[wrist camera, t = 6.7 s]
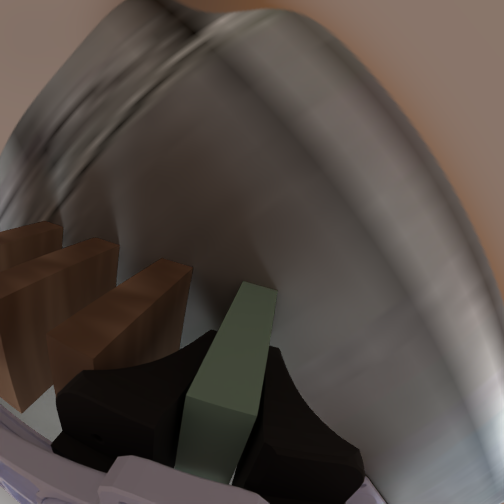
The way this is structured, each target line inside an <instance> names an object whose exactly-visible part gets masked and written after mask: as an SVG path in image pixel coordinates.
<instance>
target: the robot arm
mask: <svg viewBox="0 0 504 504" xmlns="http://www.w3.org/2000/svg"><path fill="white" fill-rule="evenodd" d="M217 332H218V331H215V330H210V331H208V332H206V333H205V334H204V335H202V336H201V337H200V338H198V339H197V340H195V341H194V342H192V343H190V344H189V345H187V346H185V347H184V348H182V349H180V350H178V351H176V352H174V353H172V354H170V355H168V356H166V357H163V358H161V359H158V360H155V361H152V362H149V363H145V364H141V365H137V366H133V367H127V368H120V369H110V370H82V371H81V372H80V373H79V374H77V375H76V376H75V377H74V378H73V379H72V380H71V381H69V382H68V383H67V384H66V385H65V386H64V387H63V388H62V389H61V390H60V391H59V392H58V393H57V396H56V407H57V411H58V415H59V419H60V423H61V427H62V430H63V431H62V432H61V433H60V434H59V436H58V437H57V438H56V439H55V440H54V441H53V442H51V441H49V440H48V439H46V438H45V437H43V436H42V435H40V434H39V433H38V432H36V431H35V430H33V429H32V428H30V427H29V426H28V425H26V424H25V423H24V422H22V421H21V420H20V419H18V418H17V417H16V416H14V415H13V414H12V413H11V412H9V411H8V410H7V409H6V408H5V407H3V406H2V405H1V404H0V486H1V487H2V488H3V489H4V490H6V491H7V492H8V493H9V494H10V495H11V496H12V497H14V498H15V499H16V500H17V501H18V502H19V503H21V504H387V503H386V502H385V501H384V499H383V498H382V497H381V495H380V494H379V493H378V491H377V490H376V488H375V487H374V486H373V484H372V483H371V482H370V480H369V479H368V477H366V476H365V471H364V465H363V461H362V457H361V454H360V451H359V449H358V448H356V447H354V446H353V445H351V444H350V443H348V442H347V441H345V440H344V439H342V438H341V437H340V436H338V435H337V434H336V433H335V432H334V431H332V430H331V429H330V428H329V427H328V426H327V425H326V424H324V423H323V422H322V421H321V420H320V419H319V417H318V416H317V415H316V414H315V413H314V412H313V411H312V410H311V409H310V407H309V406H308V405H307V403H306V402H305V401H304V399H303V398H302V397H301V395H300V393H299V392H298V390H297V388H296V387H295V385H294V383H293V381H292V379H291V377H290V375H289V373H288V370H287V368H286V366H285V363H284V360H283V358H282V355H281V351H280V350H279V348H276V347H272V346H269V350H268V356H267V362H266V368H265V374H264V380H263V386H262V391H261V397H260V403H259V408H258V414H257V418H256V420H255V423H254V425H253V428H252V430H251V433H250V435H249V438H248V440H247V442H246V445H245V447H244V450H243V452H242V454H241V457H240V459H239V462H238V464H237V467H236V471H235V475H234V479H233V482H232V486H231V485H227V484H223V483H220V482H216V481H212V480H209V479H205V478H202V477H198V476H195V475H192V474H189V473H185V472H182V471H179V470H177V469H174V466H175V462H176V455H177V448H178V442H179V435H180V429H181V422H182V416H183V410H184V404H185V398H186V394H187V392H188V390H189V388H190V386H191V384H192V382H193V380H194V378H195V376H196V374H197V372H198V370H199V368H200V366H201V364H202V362H203V360H204V358H205V356H206V354H207V352H208V350H209V348H210V346H211V344H212V342H213V340H214V338H215V336H216V334H217Z"/></svg>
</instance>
